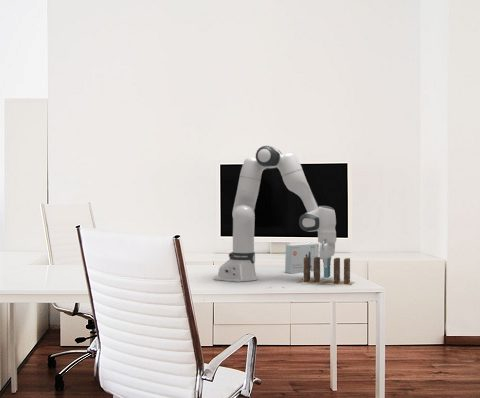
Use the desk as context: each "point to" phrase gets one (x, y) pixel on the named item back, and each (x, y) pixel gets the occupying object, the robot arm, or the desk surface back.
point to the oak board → (325, 282)
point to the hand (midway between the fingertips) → (327, 266)
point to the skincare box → (300, 256)
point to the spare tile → (327, 269)
